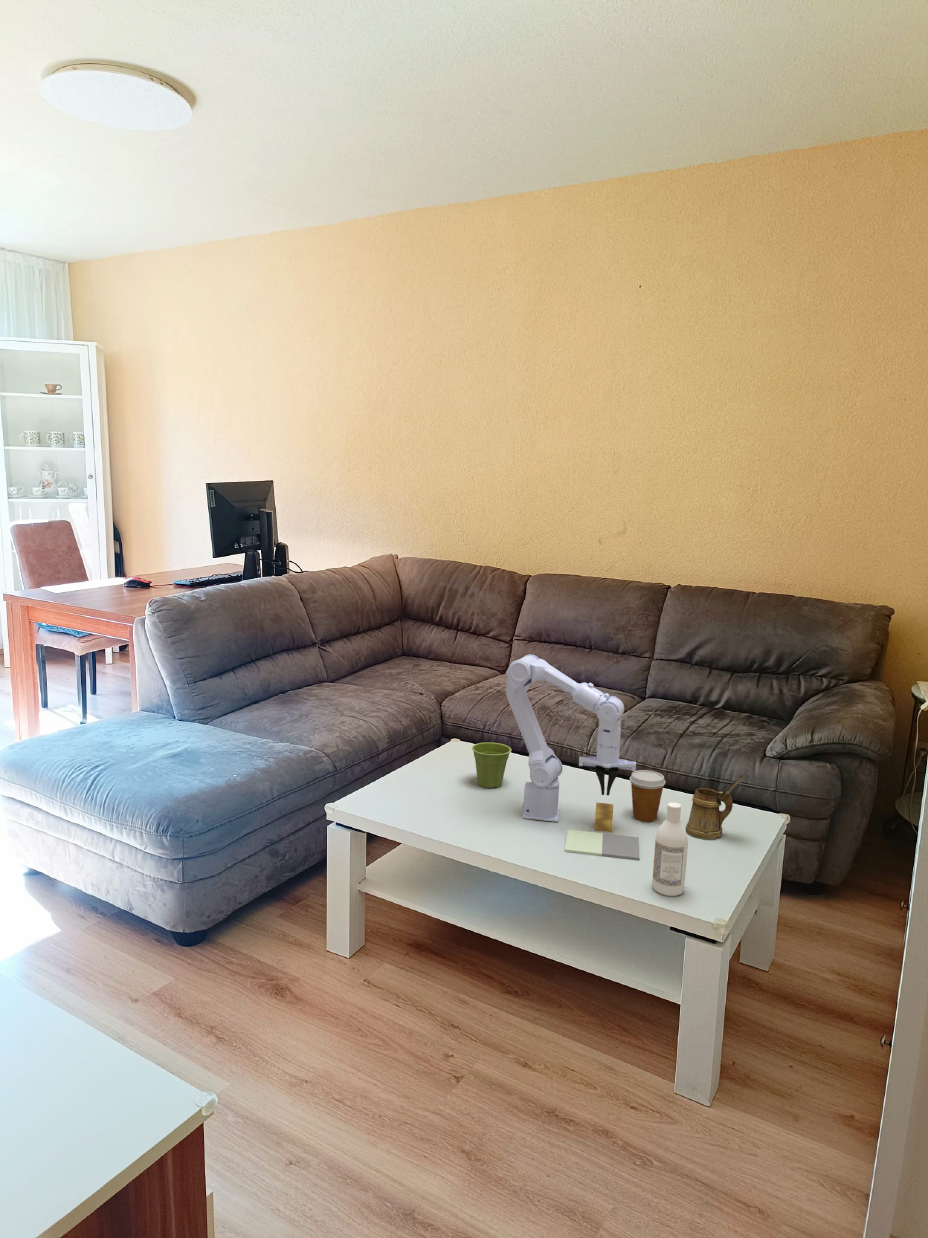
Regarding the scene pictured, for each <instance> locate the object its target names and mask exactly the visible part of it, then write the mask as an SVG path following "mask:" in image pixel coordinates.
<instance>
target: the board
mask: <svg viewBox="0 0 928 1238" xmlns="http://www.w3.org/2000/svg"><path fill="white" fill-rule="evenodd" d="M565 839H566V840H565V846H564V852H565V853H572V854H581V855H590V856H597V857H599V856H600V857H609V858H615V859H616V858H617V859H618V858H619V859H625V860H626V859H627V860H634V861H640V843H639V841H640V839H639V837H638V836H630V835H620V834H613V833H605V832H593V831H585V830H584V831H583V830H574V829H567V833H566V837H565Z"/></svg>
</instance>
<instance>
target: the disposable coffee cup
mask: <svg viewBox="0 0 928 1238" xmlns="http://www.w3.org/2000/svg"><path fill="white" fill-rule="evenodd" d="M629 781H630V787H631V800H632V801H631V803H632V804H631V805H632V817H633V818H634V819H635V820H637V821H639V822H643V823H651V822H656V821H657V818H658V814H659V810H660V809H659V808H660V803H661V799H662V793H663V790H664V786H665V785H666V780H665V776H664V775H663V774H662V773H660V772H658V771H657V772H656V771H655V770H647V769H645V770H644V769H640V770H636V771H632V772H631V775H630V777H629Z"/></svg>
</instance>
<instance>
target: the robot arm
mask: <svg viewBox="0 0 928 1238" xmlns="http://www.w3.org/2000/svg"><path fill="white" fill-rule="evenodd" d="M505 675H506V685H505V696H506V698H507V700H508V703H509V705H510V708H511V711H512V713H513V717H514V719H515V721H516V723H517V725H518V729H519V732H520V733H521V736H522V739H523V741H524V743H525V746H526V749H527V752H528V754H529V755H528V767H529V777H530V781H526V782H525V783H524V790H523V803H522V818H523V819H527V820H537V821H543V822H544V821H546V822H554V823H555V822H556V823H557V822H559V818H560V812H561V810H560V808H559V794H560V793H559V792H560V781H559V776H561V774H562V772H563V764H562V762H561V760H560V759H559V758H558V757H557V755H556V754H555V752H554V750H553V749H552V748H550V746H548V744H547V741H546V739H545V736H544V735H543V732H542V728H541V727H540V724H539V721H538V718H537V716H536V713H535V711H534V709H533V706H532V703H531V702H530V699H529V696H528V693H527V692H528V690H529V688H530V686H531V684H532V683H533V682H544V681H545V682H547V683H549V684H551V685H553V686H555V687H557V688H558V689H561V690H563V691H564V692H566V693H568V694H570V695H571V697H572V699H573V701H574V702H575V703H577V704H578V705H580V706H581V707H584V708H585V709H586V710H588V711H590V712H592V713H593V714H596V717H597V719H598V729H597V730H598V732H597V744H596V745H597V747H596V756H579V758H578V766H579V767H583V766H585V767H594V768H595V770H594V771H595V774H596V776H597V779H598V781H599V785H600V791H601V795H602V796H605V776H606V773H605V772H606V769H608V775H607V776H608V778H607V787H606V796H610V792H611V788H612V786H613V783H614V782H615V781H616V778H617V777H618V774H619V770H627V771H628V770H630V771H632V772H634V771H637V768H636V767H637V762H636V761H633V760H627V759H622V758H620V747H621V746H620V745H621V731H622V730H621V729H622V727H621V726H622V725H621V724H622V723H621V722H622V718H621V717H622V716H623V714H624V712H625V705H624V702H623V701H622V700H621V699H620V698H619V697H618V696H615V695H611V696H610V694H609V693H607V692H606V693H604V692H602V691H601V690H599V689H597V688H595V687H594V686H595V685H594V684H593V683H592V682H589V683H587V682H581V683H579V682H577V681H575V680H573V678H571V677H569V676H567V675H566V674H564V673H563V672H561V671H560V670H559V669H557V668H555V667H554V666H552V665H551V664H549V663H548V662H547V661H546V660H545V659H544V658H543V659H542V658H539V657H538V656H537V655H534V654H532V653H531V654H530V653H529V654H525V655H524V656H523V657H521V658H520V659H516V660H514V661H512V662H511V663H510V665H509V666H508V668H507V670H506V671H505Z"/></svg>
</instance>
